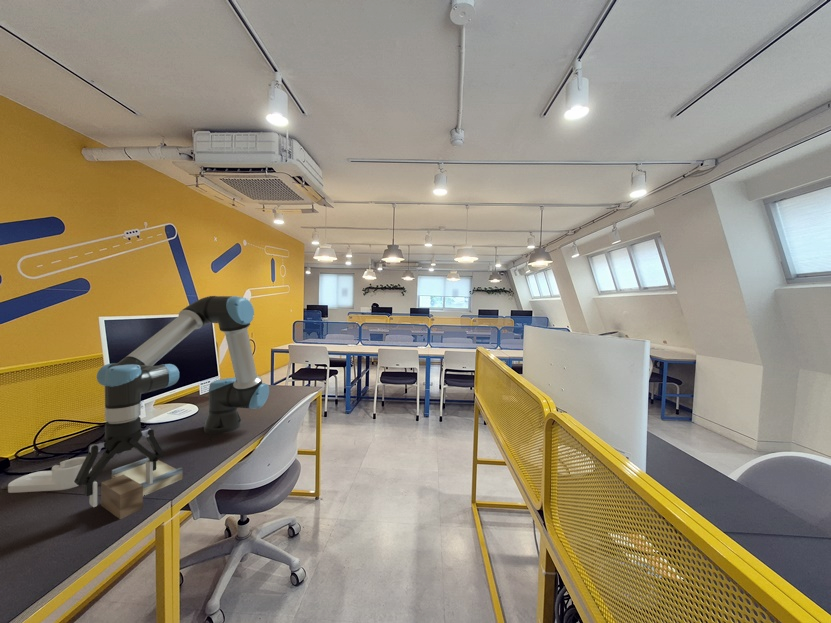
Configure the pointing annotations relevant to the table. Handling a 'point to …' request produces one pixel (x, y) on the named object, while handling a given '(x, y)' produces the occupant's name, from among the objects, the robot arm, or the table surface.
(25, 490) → the white elongated piece
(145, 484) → the cream tray
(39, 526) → the table surface
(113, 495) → the brown boxy block
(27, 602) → the table surface
